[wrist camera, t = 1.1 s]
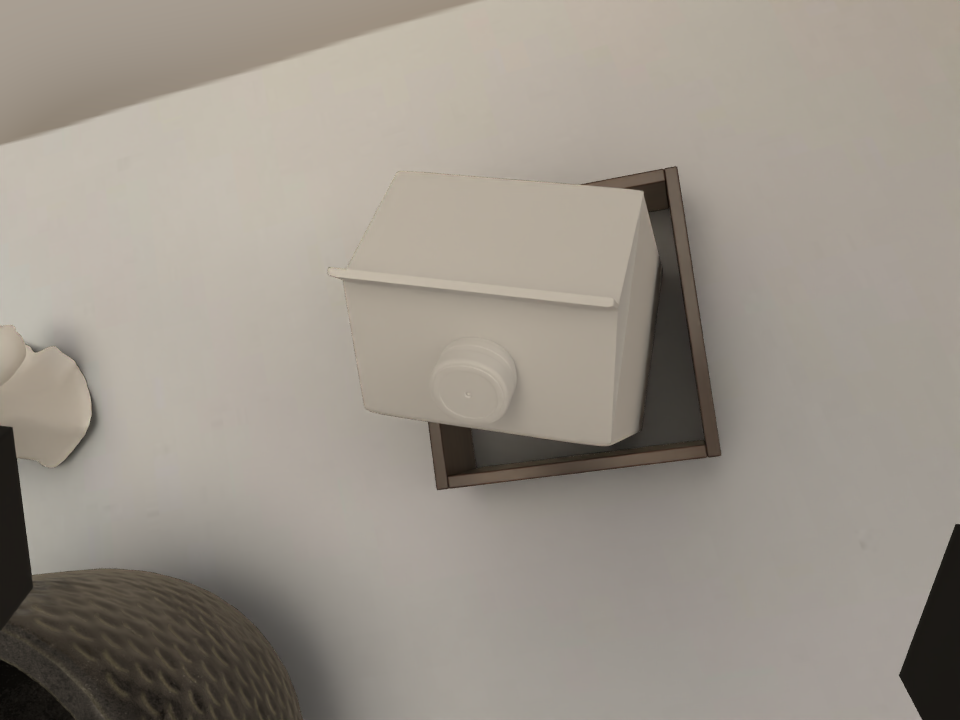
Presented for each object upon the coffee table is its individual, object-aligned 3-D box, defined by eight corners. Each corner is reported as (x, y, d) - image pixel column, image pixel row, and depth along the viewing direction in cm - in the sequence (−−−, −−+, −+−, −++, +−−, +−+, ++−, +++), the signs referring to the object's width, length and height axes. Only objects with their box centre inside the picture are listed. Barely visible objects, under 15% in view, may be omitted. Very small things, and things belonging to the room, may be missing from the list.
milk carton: (503, 252, 41) (345, 129, 23) (663, 268, 40) (634, 149, 21) (482, 409, 41) (307, 414, 23) (642, 432, 39) (593, 456, 21)
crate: (679, 195, 40) (676, 165, 35) (718, 449, 39) (721, 455, 34) (436, 239, 42) (401, 218, 37) (467, 480, 41) (436, 490, 36)
